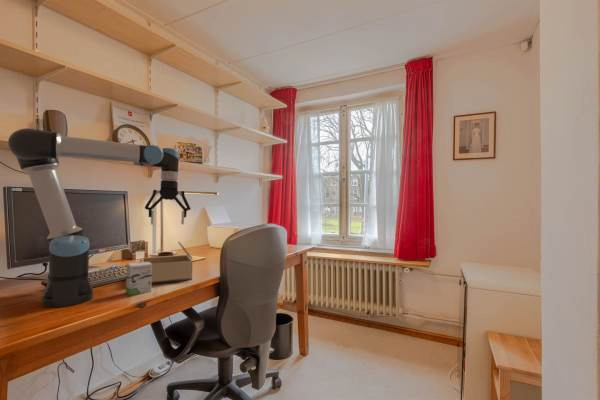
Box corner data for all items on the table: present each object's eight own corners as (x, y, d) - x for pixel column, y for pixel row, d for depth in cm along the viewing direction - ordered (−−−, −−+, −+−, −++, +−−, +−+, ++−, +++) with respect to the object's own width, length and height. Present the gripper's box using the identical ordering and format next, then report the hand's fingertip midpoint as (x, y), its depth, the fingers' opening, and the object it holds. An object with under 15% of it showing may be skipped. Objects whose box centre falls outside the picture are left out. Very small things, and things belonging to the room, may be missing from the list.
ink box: (128, 295, 115) (129, 266, 115) (125, 292, 119) (126, 263, 119) (152, 291, 121) (152, 263, 121) (148, 288, 125) (149, 261, 125)
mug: (180, 271, 155) (181, 253, 155) (167, 274, 149) (167, 255, 149) (167, 268, 162) (168, 251, 162) (154, 270, 155) (154, 253, 155)
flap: (191, 259, 140) (181, 246, 138) (186, 254, 152) (177, 242, 150) (192, 258, 140) (182, 245, 138) (187, 253, 153) (178, 241, 150)
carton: (134, 287, 125) (134, 266, 125) (134, 275, 144) (135, 257, 144) (193, 281, 137) (193, 261, 137) (186, 271, 156) (186, 253, 156)
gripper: (140, 178, 132) (138, 224, 131) (197, 182, 144) (195, 224, 144) (140, 179, 138) (138, 223, 138) (194, 182, 151) (193, 223, 150)
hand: (167, 224), depth 141 cm, fingers open, 13 cm apart
